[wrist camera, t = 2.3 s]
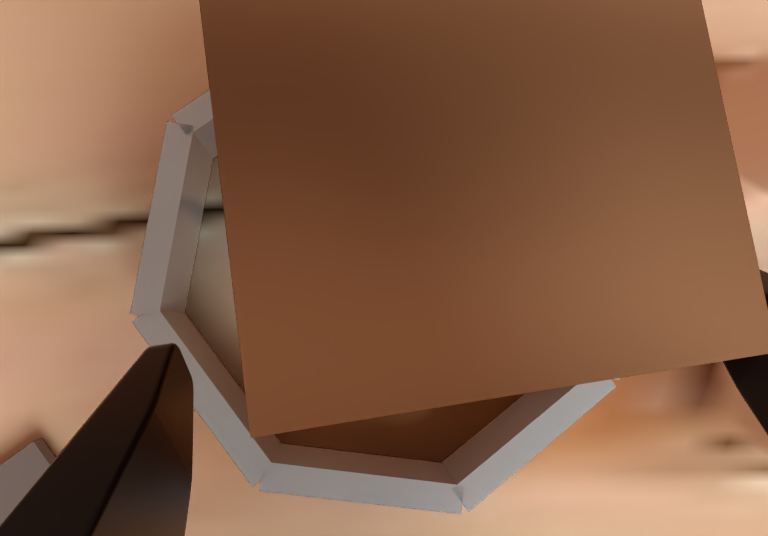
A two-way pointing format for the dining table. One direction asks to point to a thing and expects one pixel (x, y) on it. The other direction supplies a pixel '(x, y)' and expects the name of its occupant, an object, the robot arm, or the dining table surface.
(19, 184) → the dining table surface
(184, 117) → the grey octagonal ring
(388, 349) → the walnut block
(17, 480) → the mat
